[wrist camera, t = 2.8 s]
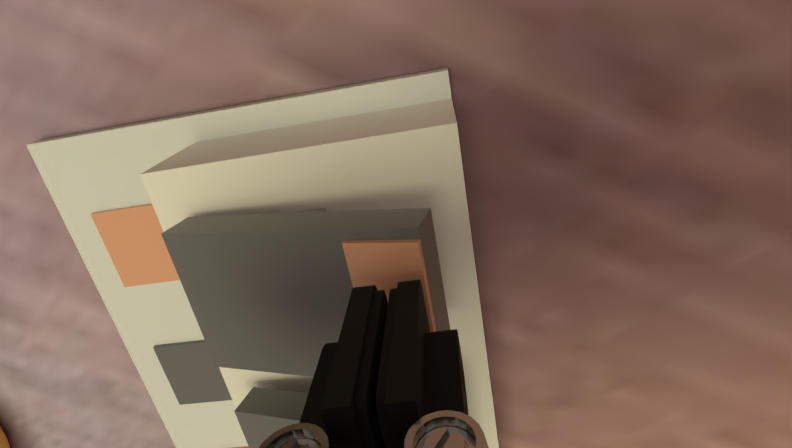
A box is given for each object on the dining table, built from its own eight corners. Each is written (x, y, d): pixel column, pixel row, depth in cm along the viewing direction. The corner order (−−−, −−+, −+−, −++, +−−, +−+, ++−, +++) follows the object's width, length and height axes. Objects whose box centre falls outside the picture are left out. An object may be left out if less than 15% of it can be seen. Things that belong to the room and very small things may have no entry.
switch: (430, 207, 12) (415, 230, 11) (455, 362, 14) (445, 394, 13) (188, 216, 15) (157, 235, 14) (237, 343, 17) (212, 369, 16)
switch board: (447, 67, 18) (453, 91, 13) (504, 504, 27) (520, 613, 22) (40, 139, 20) (-86, 183, 15) (223, 520, 30) (182, 622, 25)
